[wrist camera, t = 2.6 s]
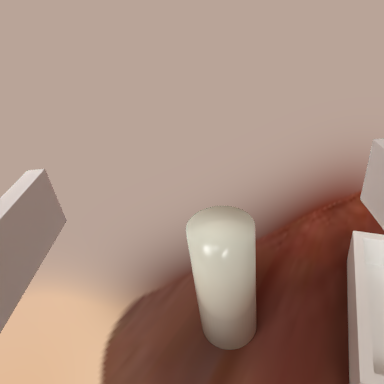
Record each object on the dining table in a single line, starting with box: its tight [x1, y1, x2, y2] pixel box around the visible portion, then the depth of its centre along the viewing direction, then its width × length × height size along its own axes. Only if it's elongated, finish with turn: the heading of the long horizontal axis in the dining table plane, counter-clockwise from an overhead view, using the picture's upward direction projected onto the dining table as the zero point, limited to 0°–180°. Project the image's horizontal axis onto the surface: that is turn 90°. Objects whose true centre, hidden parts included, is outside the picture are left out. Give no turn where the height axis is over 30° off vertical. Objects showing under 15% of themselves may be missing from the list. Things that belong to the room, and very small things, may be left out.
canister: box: [186, 206, 256, 350], centre depth 31 cm, size 6×6×14 cm
